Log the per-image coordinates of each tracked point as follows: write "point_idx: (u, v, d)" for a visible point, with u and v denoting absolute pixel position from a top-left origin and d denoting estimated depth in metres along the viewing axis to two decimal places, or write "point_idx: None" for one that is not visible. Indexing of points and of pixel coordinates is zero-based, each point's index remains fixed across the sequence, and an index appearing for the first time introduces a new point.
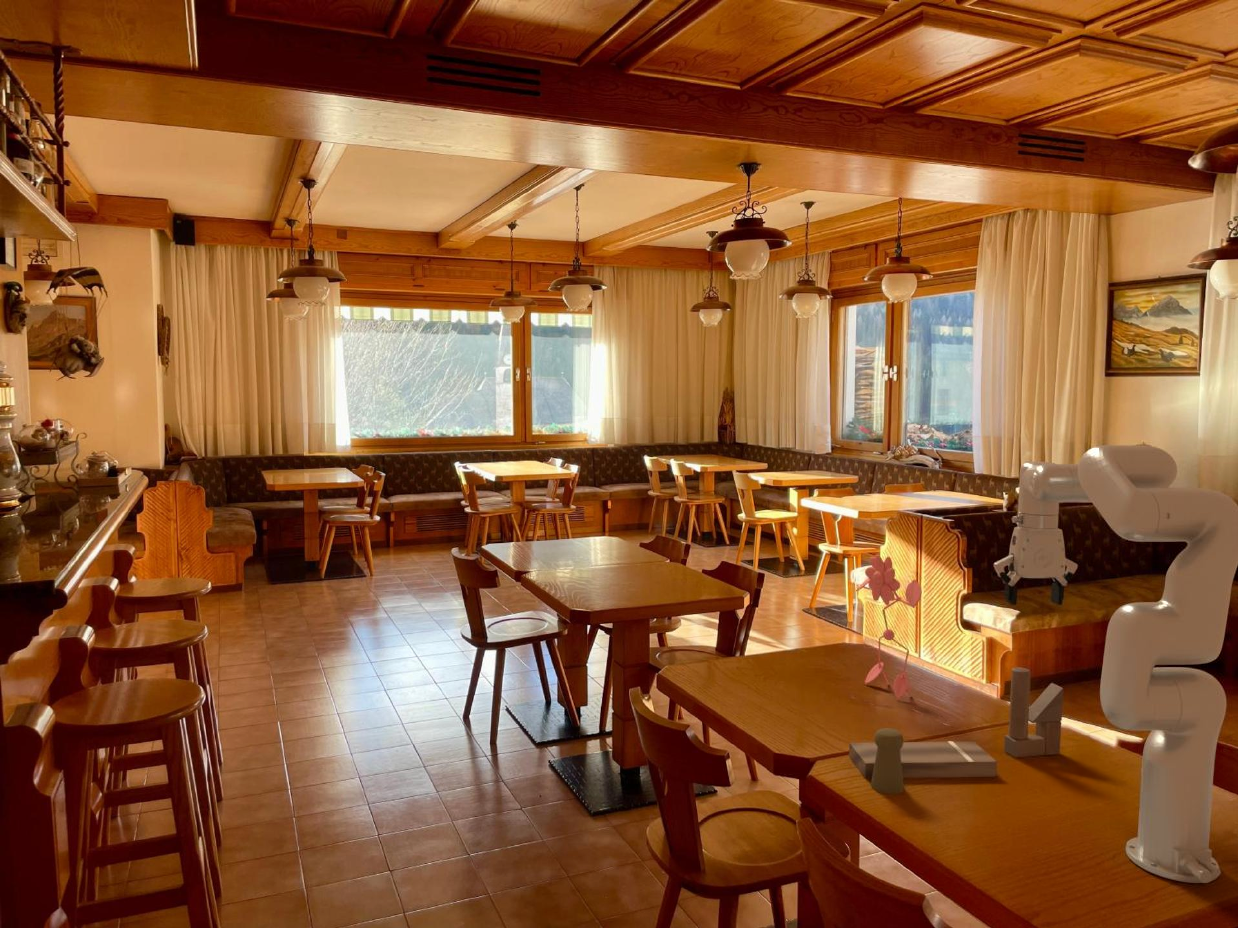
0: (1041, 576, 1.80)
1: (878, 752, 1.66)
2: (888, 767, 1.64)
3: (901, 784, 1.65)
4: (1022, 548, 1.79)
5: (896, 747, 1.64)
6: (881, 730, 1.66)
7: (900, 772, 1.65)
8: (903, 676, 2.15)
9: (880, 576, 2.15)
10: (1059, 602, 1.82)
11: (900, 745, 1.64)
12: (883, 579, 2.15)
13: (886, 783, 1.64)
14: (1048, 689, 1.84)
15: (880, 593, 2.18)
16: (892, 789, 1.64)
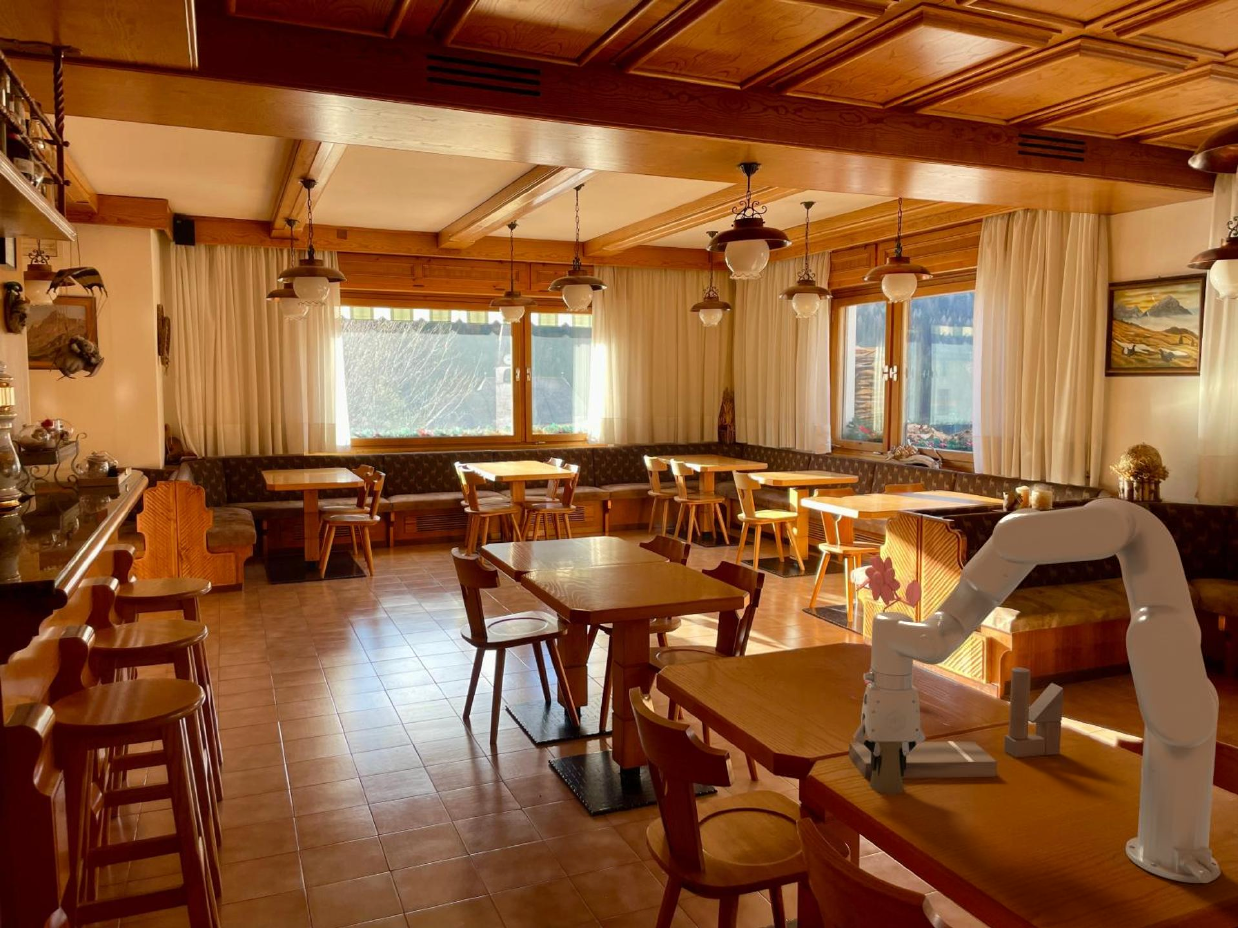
0: (893, 740, 1.63)
1: None
2: (887, 767, 1.64)
3: (900, 784, 1.65)
4: (872, 710, 1.63)
5: (895, 747, 1.64)
6: None
7: (899, 772, 1.65)
8: None
9: (880, 576, 2.15)
10: None
11: (899, 745, 1.64)
12: (883, 579, 2.15)
13: (886, 783, 1.64)
14: (1048, 689, 1.84)
15: (880, 593, 2.18)
16: (891, 789, 1.64)
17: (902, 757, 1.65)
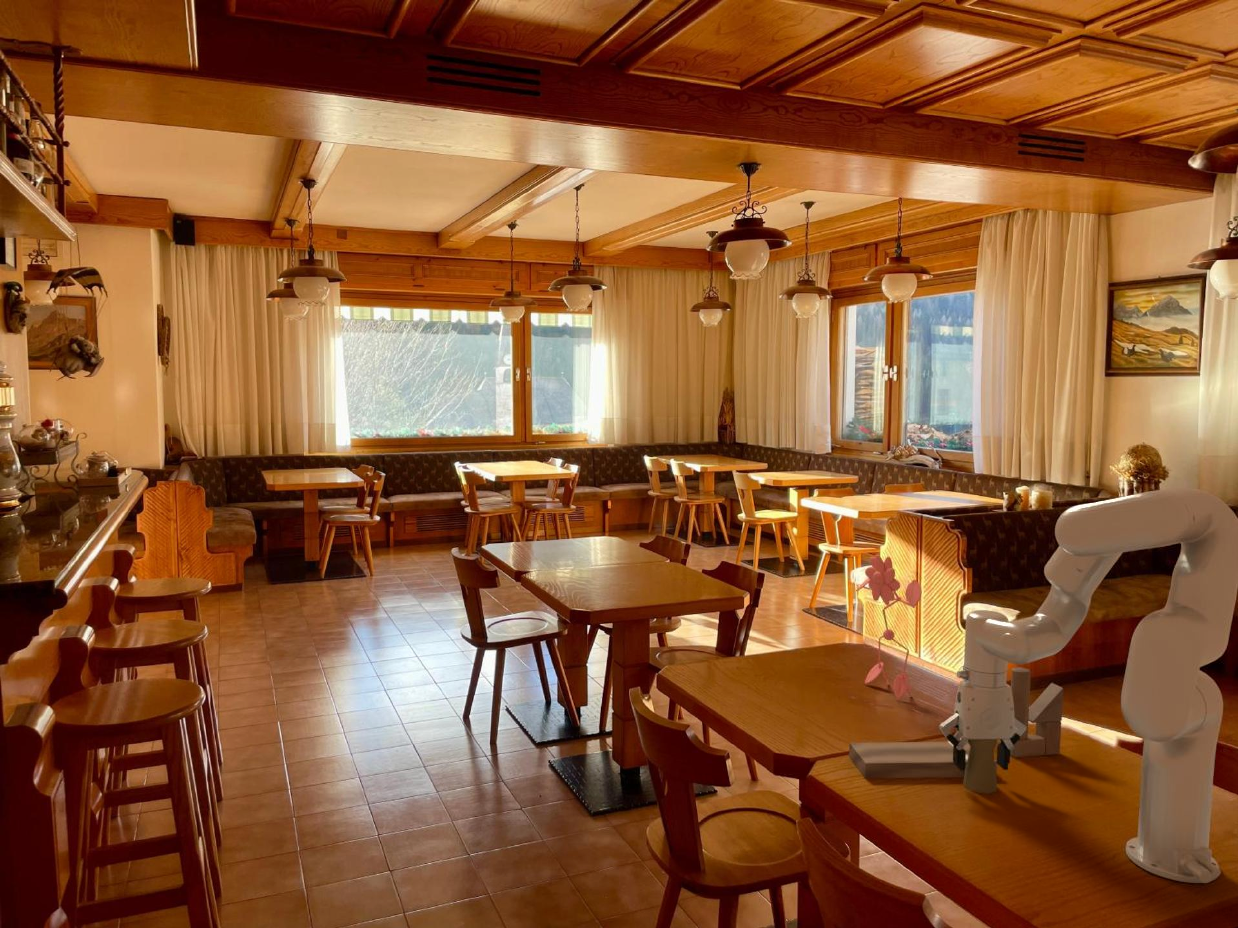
0: (988, 738, 1.64)
1: (971, 751, 1.67)
2: (983, 766, 1.65)
3: (995, 783, 1.66)
4: (967, 708, 1.64)
5: (991, 746, 1.65)
6: None
7: (994, 771, 1.66)
8: (903, 676, 2.15)
9: (880, 576, 2.15)
10: (1005, 767, 1.66)
11: (994, 744, 1.65)
12: (883, 579, 2.15)
13: (981, 782, 1.65)
14: (1048, 689, 1.84)
15: (880, 593, 2.18)
16: (987, 788, 1.65)
17: (1006, 751, 1.66)
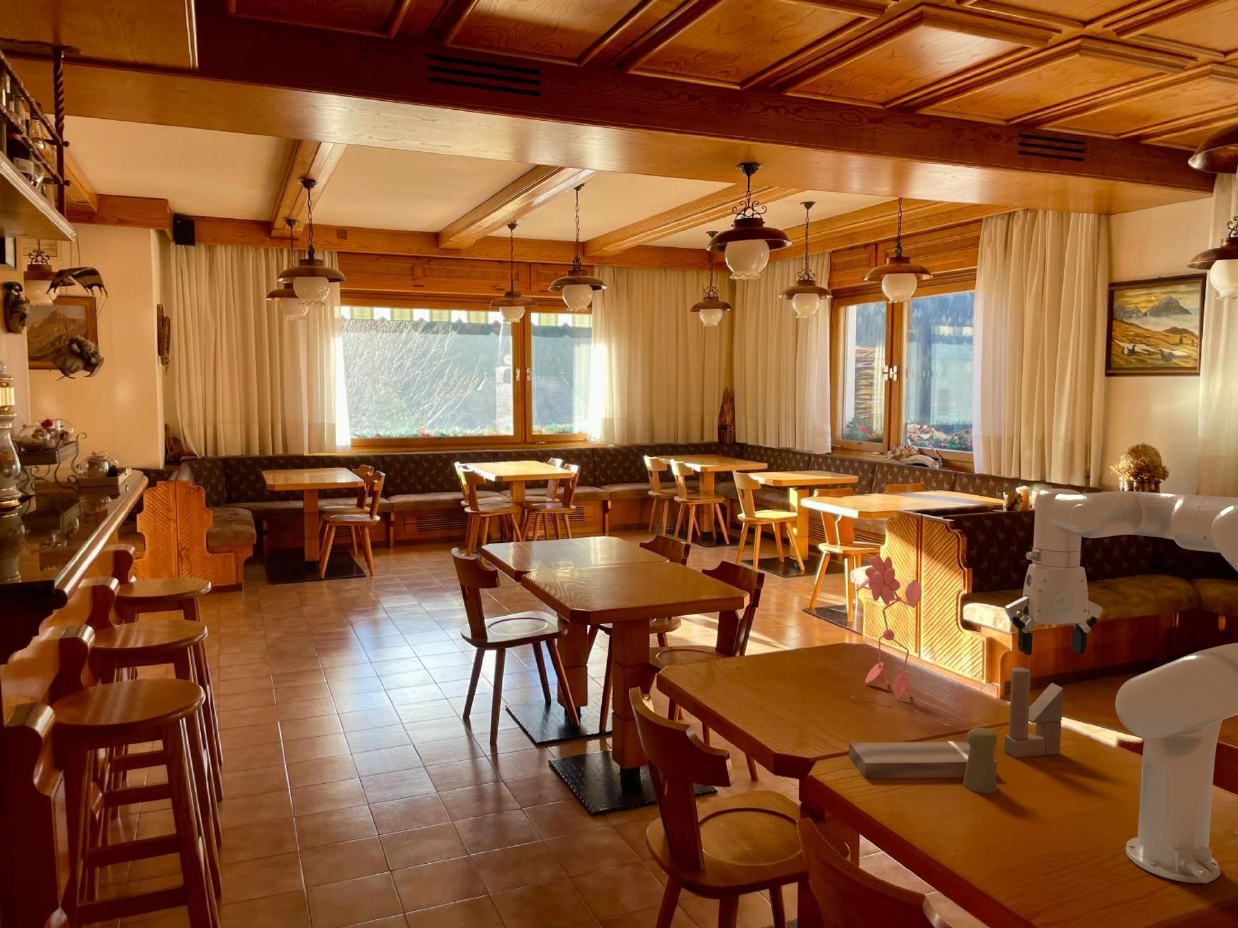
0: (1060, 622, 1.55)
1: (971, 751, 1.67)
2: (982, 766, 1.65)
3: (995, 783, 1.66)
4: (1038, 590, 1.54)
5: (991, 746, 1.65)
6: (974, 729, 1.67)
7: (994, 771, 1.66)
8: (903, 676, 2.15)
9: (880, 576, 2.15)
10: (1081, 652, 1.56)
11: (994, 744, 1.65)
12: (883, 579, 2.15)
13: (981, 782, 1.65)
14: (1048, 689, 1.84)
15: (880, 593, 2.18)
16: (987, 788, 1.65)
17: (1083, 634, 1.56)
